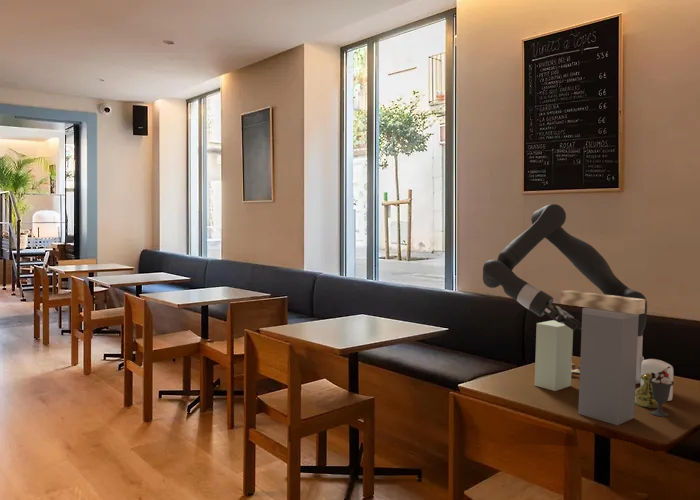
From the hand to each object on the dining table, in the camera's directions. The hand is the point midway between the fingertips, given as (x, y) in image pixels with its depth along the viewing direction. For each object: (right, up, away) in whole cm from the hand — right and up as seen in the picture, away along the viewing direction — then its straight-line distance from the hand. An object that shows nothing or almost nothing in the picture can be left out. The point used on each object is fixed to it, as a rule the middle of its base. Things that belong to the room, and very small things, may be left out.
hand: (579, 327), depth 183 cm
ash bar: (+3, +7, -8) cm, 11 cm away
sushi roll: (+13, -23, +39) cm, 47 cm away
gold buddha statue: (+23, -25, +2) cm, 34 cm away
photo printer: (+30, -25, +11) cm, 40 cm away
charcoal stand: (+4, -25, -9) cm, 27 cm away
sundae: (+22, -26, -6) cm, 34 cm away
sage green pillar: (-1, -23, +22) cm, 32 cm away
